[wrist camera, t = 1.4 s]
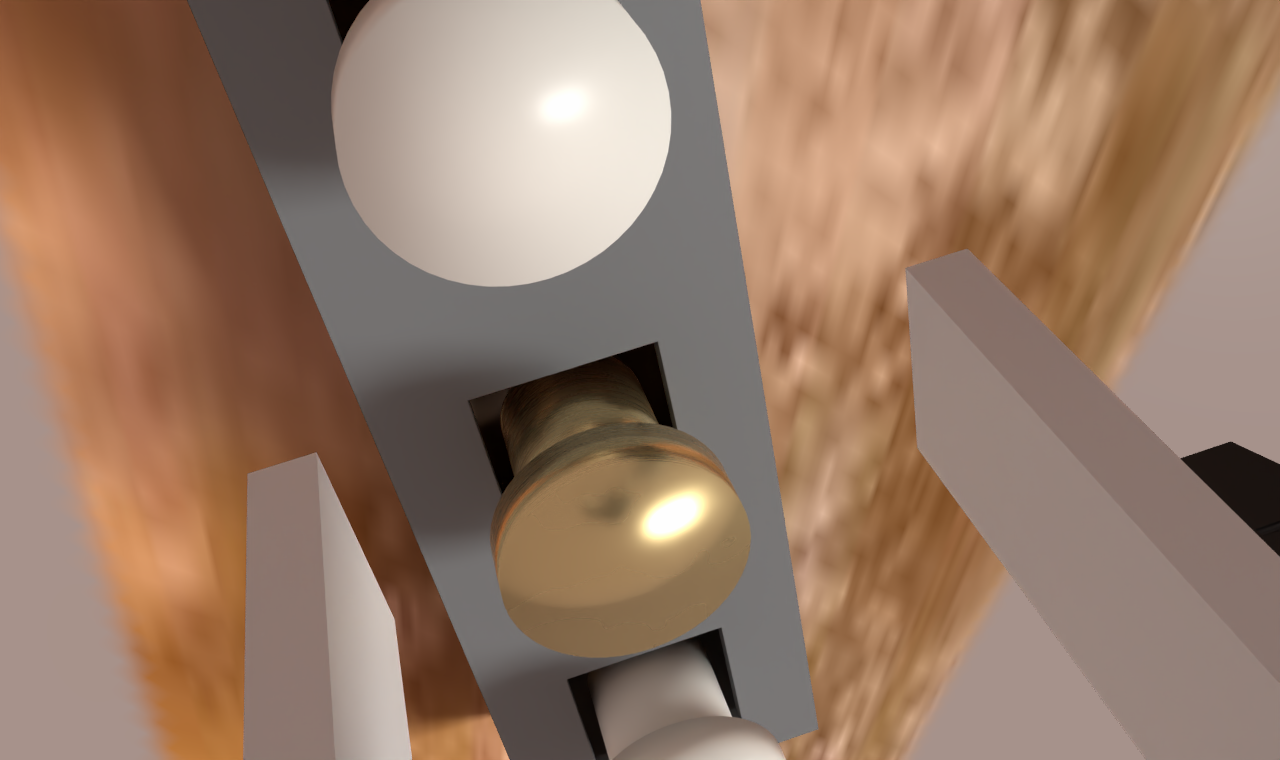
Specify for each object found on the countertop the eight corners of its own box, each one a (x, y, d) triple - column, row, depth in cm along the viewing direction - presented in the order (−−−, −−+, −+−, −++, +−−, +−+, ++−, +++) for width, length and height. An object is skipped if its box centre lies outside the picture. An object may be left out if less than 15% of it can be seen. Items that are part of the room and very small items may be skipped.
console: (606, -250, 27) (665, -216, 23) (769, 625, 45) (818, 728, 41) (169, -135, 26) (153, -79, 22) (513, 711, 44) (538, 826, 40)
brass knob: (657, 289, 31) (731, 428, 26) (694, 460, 35) (765, 609, 30) (435, 358, 31) (468, 512, 26) (496, 524, 34) (535, 687, 29)
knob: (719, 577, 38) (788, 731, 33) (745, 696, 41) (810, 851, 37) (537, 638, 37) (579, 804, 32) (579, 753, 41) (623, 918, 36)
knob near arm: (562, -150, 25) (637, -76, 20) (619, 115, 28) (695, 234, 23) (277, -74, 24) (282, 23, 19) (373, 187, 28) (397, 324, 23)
